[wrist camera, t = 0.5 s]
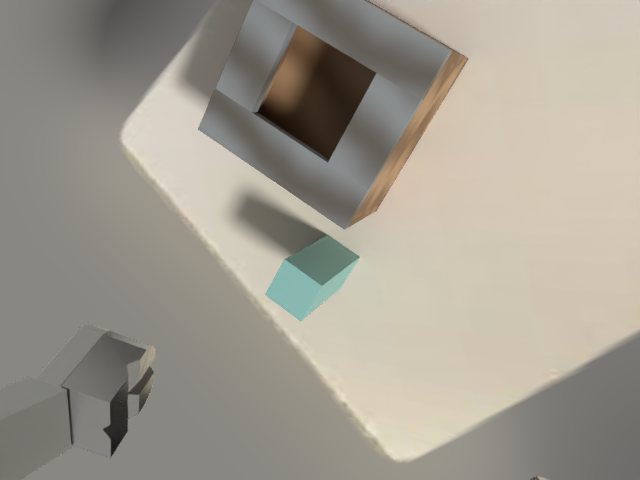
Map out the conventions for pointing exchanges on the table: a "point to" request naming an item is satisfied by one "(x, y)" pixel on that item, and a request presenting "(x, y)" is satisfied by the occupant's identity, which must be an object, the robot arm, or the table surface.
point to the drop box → (329, 99)
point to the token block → (311, 276)
